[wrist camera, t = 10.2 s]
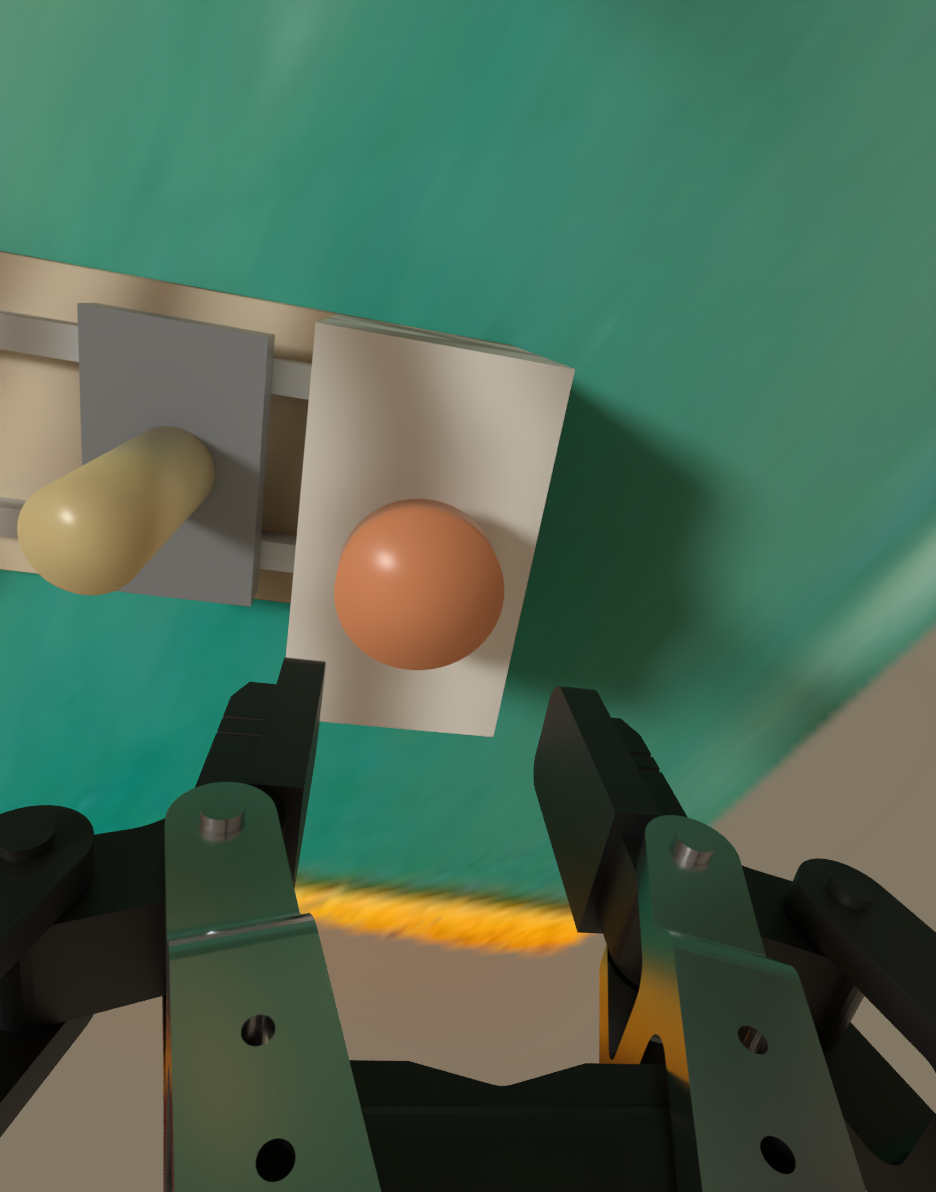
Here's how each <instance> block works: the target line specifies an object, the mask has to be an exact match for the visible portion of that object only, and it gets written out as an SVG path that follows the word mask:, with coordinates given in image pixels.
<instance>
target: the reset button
mask: <svg viewBox="0 0 936 1192" xmlns="http://www.w3.org/2000/svg"><path fill="white" fill-rule="evenodd" d="M334 599H335V607H336V611H337V615H338V618H339V620H340V623H341V625H342V627H343V629H344V630H345V632H346V634H347V635H348V636H349V638H350V639H351V640H352V642H353V643H354V644H355V645H356V646H357V647H358V648H359V649H360V650H362V651H363V652H364V653H366V654H367V655H368V656H370V657H372V658H373V659H375V660H377V661H379V662H381V663H383V664H386V665H388V666H392V667H395V668H400V669H406V670H430V669H436V668H441V667H444V666H447V665H450V664H453V663H455V662H457V661H459V660H461V659H463V658H465V657H466V656H468V655H469V654H471V653H472V652H473V651H475V650H476V649H477V648H478V647H479V646H480V645H481V644H482V643H483V642H484V641H485V640H486V639H487V638H488V636H489V635H490V634H491V632H492V631H493V629H494V627H495V626H496V624H497V622H498V619H499V617H500V614H501V611H502V607H503V602H504V580H503V574H502V571H501V567H500V564H499V562H498V560H497V557H496V555H495V552H494V550H493V548H492V545H491V543H490V541H489V539H488V537H487V536H486V534H485V532H484V531H483V530H482V528H481V527H480V526H479V525H478V524H477V523H476V522H475V521H474V520H473V519H472V518H471V517H470V516H469V515H467V514H466V513H464V512H463V511H461V510H460V509H458V508H456V507H454V506H452V505H449V504H446V503H443V502H440V501H435V500H431V499H407V500H401V501H397V502H393V503H390V504H387V505H385V506H383V507H381V508H379V509H377V510H375V511H374V512H372V513H370V514H369V515H368V516H366V517H365V518H364V519H363V520H362V521H361V522H360V523H359V524H358V525H357V526H356V527H355V528H354V529H353V531H352V532H351V534H350V535H349V536H348V538H347V540H346V542H345V544H344V546H343V549H342V552H341V555H340V559H339V564H338V570H337V575H336V580H335V587H334Z"/></svg>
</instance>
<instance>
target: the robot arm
mask: <svg viewBox="0 0 936 1192" xmlns="http://www.w3.org/2000/svg"><path fill="white" fill-rule="evenodd" d="M325 668H326V662H325V661H316V660H306V659H297V658H287V657H285V658H284V661H283V664H282V667H281V671H280V674H279V678H278V681H277V684H267V683H257V682H249V683H248V684H246V685H245V686H244V687H242V688H241V689H240V690H239V691H237V692H236V693H235V694H233V695H232V696H231V698H230V700H229V703H228V705H227V708H226V710H225V713H224V717H223V718H222V720H221V723H220V725H219V728H218V732H217V734H216V736H215V738H214V741H213V743H212V746H211V748H210V751H209V753H208V756H207V758H206V761H205V763H204V766H203V768H202V771H201V774H200V776H199V779H198V781H197V784H196V786H195V788H194V789H191V790H189V791H187V792H186V793H184V794H182V795H181V796H180V797H178V798H177V799H176V800H175V801H174V802H173V803H172V804H171V806H170V807H169V809H168V811H167V813H166V816H165V818H164V819H162V820H160V821H157V822H155V823H152V824H149V825H146V826H142V827H138V828H133V829H128V830H121V831H115V832H109V833H102V834H96V835H94V831H93V827H92V825H91V823H90V821H89V820H88V819H87V818H86V817H85V816H84V815H82V814H81V813H79V812H78V811H75V810H73V809H70V808H66V807H62V806H53V805H38V806H29V807H24V808H19V809H15V810H11V811H8V812H5V813H2V814H0V1137H1V1136H2V1134H3V1133H4V1132H5V1130H6V1129H7V1128H8V1127H9V1125H10V1124H11V1123H12V1122H13V1120H14V1119H15V1118H16V1116H17V1115H18V1114H19V1112H20V1111H21V1110H22V1108H23V1107H24V1106H25V1105H26V1103H27V1102H28V1101H29V1099H30V1098H31V1097H32V1096H33V1094H34V1093H35V1092H36V1090H37V1089H38V1088H39V1087H40V1085H41V1084H42V1083H43V1081H44V1080H45V1079H46V1078H47V1076H48V1075H49V1074H50V1072H51V1071H52V1070H53V1069H54V1067H55V1066H56V1065H57V1063H58V1062H59V1061H60V1059H61V1058H62V1057H63V1055H64V1054H65V1053H66V1052H67V1050H68V1049H69V1048H70V1046H71V1045H72V1044H73V1043H74V1041H75V1040H76V1039H77V1037H78V1036H79V1035H80V1034H81V1032H82V1031H83V1030H84V1028H85V1027H86V1026H87V1024H88V1023H89V1021H90V1020H91V1018H92V1017H93V1014H95V1013H99V1012H103V1011H107V1010H111V1009H114V1008H118V1007H122V1006H125V1005H129V1004H133V1003H137V1002H141V1001H145V1000H149V999H152V998H156V997H160V996H162V1024H163V1025H162V1027H163V1106H164V1107H163V1108H164V1109H163V1111H164V1112H163V1119H164V1120H163V1123H164V1124H163V1125H164V1127H163V1129H164V1130H163V1134H164V1135H163V1141H164V1142H163V1192H866V1191H867V1192H936V1114H935V1113H934V1112H933V1111H932V1110H931V1109H930V1107H929V1106H928V1105H927V1104H926V1103H925V1102H924V1101H923V1100H922V1099H921V1098H920V1097H919V1096H918V1094H917V1093H916V1092H915V1091H914V1090H913V1089H912V1088H911V1087H910V1086H909V1085H908V1084H907V1083H906V1082H905V1080H904V1079H903V1078H902V1077H901V1076H900V1075H899V1074H898V1073H897V1072H896V1071H895V1070H894V1069H893V1068H892V1066H891V1065H890V1064H889V1063H888V1062H887V1061H886V1060H885V1059H884V1058H883V1057H882V1056H881V1055H880V1053H879V1052H878V1051H877V1050H876V1049H875V1048H874V1047H873V1046H872V1045H871V1044H870V1043H869V1042H868V1041H867V1039H866V1038H865V1037H864V1036H863V1035H862V1034H861V1033H860V1032H859V1031H858V1030H857V1029H856V1028H855V1027H854V1025H853V1024H852V1023H851V1022H850V1021H851V1020H852V1018H853V1016H854V1014H855V1012H856V1010H857V1009H858V1007H859V1005H860V1003H861V1001H862V999H863V998H864V996H865V997H866V998H868V1000H869V1001H870V1002H871V1003H872V1004H873V1005H874V1006H875V1007H876V1008H877V1009H878V1010H879V1011H880V1012H881V1013H882V1014H883V1015H884V1016H885V1017H886V1018H887V1019H888V1020H889V1021H890V1022H891V1023H892V1024H893V1025H894V1026H895V1027H896V1028H897V1029H898V1030H899V1031H900V1032H901V1033H902V1034H903V1036H905V1038H906V1039H907V1040H908V1041H909V1042H911V1044H912V1045H913V1046H914V1047H915V1048H916V1049H917V1050H918V1051H919V1052H920V1053H921V1054H922V1055H923V1056H924V1057H925V1058H926V1059H927V1060H928V1062H929V1063H930V1064H931V1066H932V1067H933V1069H934V1070H935V1072H936V932H935V931H933V930H932V929H931V928H930V927H929V926H928V925H926V924H925V923H924V922H923V921H922V920H920V919H919V918H918V917H917V916H916V915H915V914H913V913H912V912H911V911H910V910H909V909H908V908H906V907H905V906H904V905H903V904H902V903H901V902H899V901H898V900H897V899H896V898H895V897H893V896H892V895H891V894H890V893H889V892H888V891H886V890H885V889H884V888H883V887H882V886H881V885H879V884H878V883H877V882H875V881H874V880H873V879H871V878H870V877H868V876H867V875H865V874H864V873H862V872H860V871H858V870H856V869H854V868H852V867H850V866H848V865H845V864H842V863H840V862H836V861H833V860H828V859H810V860H807V861H805V862H803V863H802V864H801V865H800V867H799V868H798V870H797V873H796V875H795V877H794V880H793V881H789V880H786V879H783V878H779V877H776V876H773V875H769V874H766V873H763V872H760V871H756V870H753V869H750V868H747V867H744V866H742V865H741V861H740V859H739V856H738V853H737V852H736V850H735V849H734V847H733V846H732V845H731V844H730V842H729V841H728V840H727V839H726V838H725V837H724V836H722V835H721V834H719V832H717V831H716V830H714V829H713V828H711V827H709V826H707V825H706V824H704V823H702V822H699V821H697V820H694V819H691V818H688V817H687V816H686V814H685V812H684V810H683V809H682V807H681V805H680V803H679V802H678V800H677V798H676V796H675V795H674V793H673V791H672V789H671V788H670V786H669V784H668V783H667V781H666V779H665V777H664V776H663V774H662V773H661V772H659V767H658V765H657V763H656V762H655V760H654V758H653V757H651V753H650V751H649V750H648V748H647V746H646V744H645V743H644V741H643V739H642V737H641V736H640V735H639V734H638V733H637V732H636V731H635V730H633V729H632V728H631V727H630V726H629V725H628V724H626V723H625V722H624V721H623V720H622V719H619V718H611V717H610V715H609V713H608V711H607V709H606V707H605V706H604V704H603V702H602V700H601V698H600V696H599V694H598V693H597V691H595V690H589V689H580V688H570V687H561V686H557V687H555V688H554V690H553V691H552V694H551V696H550V700H549V704H548V708H547V712H546V716H545V720H544V724H543V728H542V732H541V735H540V739H539V743H538V747H537V751H536V756H535V761H534V786H535V791H536V794H537V798H538V801H539V804H540V808H541V811H542V814H543V818H544V821H545V824H546V828H547V831H548V835H549V838H550V841H551V845H552V848H553V851H554V855H555V858H556V861H557V865H558V868H559V871H560V875H561V878H562V881H563V885H564V888H565V891H566V895H567V898H568V901H569V905H570V908H571V912H572V915H573V918H574V922H575V925H576V928H577V932H581V933H603V934H604V938H605V941H606V943H607V945H606V948H605V951H604V953H603V956H602V960H601V962H600V969H599V1064H596V1063H591V1064H590V1063H585V1064H582V1065H578V1066H575V1067H571V1068H568V1069H564V1070H561V1071H558V1072H554V1073H551V1074H547V1075H544V1076H540V1077H537V1078H534V1079H530V1080H526V1081H523V1082H520V1083H516V1084H513V1085H508V1086H497V1085H492V1084H489V1083H485V1082H481V1081H477V1080H474V1079H471V1078H467V1077H464V1076H460V1075H456V1074H453V1073H449V1072H446V1071H442V1070H439V1069H435V1068H431V1067H428V1066H424V1065H421V1064H417V1063H414V1062H410V1061H360V1060H359V1061H356V1060H349V1057H348V1053H347V1049H346V1045H345V1040H344V1036H343V1032H342V1029H341V1024H340V1020H339V1016H338V1012H337V1008H336V1003H335V999H334V996H333V991H332V987H331V983H330V979H329V975H328V970H327V966H326V963H325V958H324V954H323V950H322V946H321V942H320V938H319V933H318V930H317V926H316V923H315V920H314V918H313V916H312V915H311V914H310V913H307V914H301V915H300V912H299V908H298V903H297V899H296V894H295V890H294V889H295V882H296V876H297V870H298V864H299V857H300V851H301V845H302V838H303V832H304V826H305V819H306V813H307V807H308V801H309V794H310V788H311V782H312V775H313V769H314V762H315V755H316V747H317V739H318V730H319V721H320V712H321V704H322V695H323V686H324V677H325Z"/></svg>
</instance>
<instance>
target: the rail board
mask: <svg viewBox="0 0 936 1192" xmlns="http://www.w3.org/2000/svg"><path fill="white" fill-rule="evenodd" d="M77 303H100V304H106V305H111V306H117V307H123V308H128V309H134V310H140V311H145V312H151V313H156V314H162V315H168V316H173V317H179V318H185V319H190V320H196V321H202V322H207V323H213V324H219V325H224V326H230V327H236V328H241V329H247V330H252V331H258V332H264V333H269V334H275V343H274V357H273V372H272V386H271V401H270V416H269V430H268V445H267V459H266V474H265V488H264V503H263V518H262V532H261V547H260V561H259V576H258V590H257V593H256V595H255V597H254V599H261V600H270V601H278V602H287V603H291V607H290V618H289V629H288V640H287V652H286V657H287V658H297V659H306V660H316V661H325V662H326V668H325V677H324V686H323V695H322V704H321V712H320V721H322V722H333V723H344V724H355V725H366V726H378V727H389V728H400V729H411V730H422V731H433V732H444V733H455V734H466V735H478V736H489V737H493V735H494V731H495V726H496V722H497V717H498V713H499V708H500V704H501V699H502V695H503V690H504V686H505V681H506V677H507V672H508V668H509V663H510V659H511V654H512V650H513V645H514V641H515V636H516V632H517V627H518V623H519V618H520V614H521V610H522V605H523V601H524V596H525V592H526V587H527V583H528V578H529V574H530V569H531V565H532V560H533V556H534V551H535V547H536V542H537V538H538V533H539V529H540V524H541V520H542V515H543V511H544V506H545V502H546V497H547V493H548V488H549V484H550V479H551V475H552V470H553V466H554V461H555V457H556V453H557V448H558V444H559V439H560V435H561V430H562V426H563V421H564V417H565V412H566V408H567V403H568V399H569V394H570V390H571V385H572V381H573V376H574V372H575V369H573V368H570V367H568V366H565V365H563V364H560V363H557V362H555V361H552V360H549V359H547V358H544V357H541V356H539V355H536V354H534V353H531V352H528V351H526V350H523V349H520V348H518V347H515V346H513V345H507V344H502V343H496V342H491V341H485V340H480V339H475V338H469V337H464V336H458V335H453V334H448V333H442V332H437V331H431V330H426V329H420V328H415V327H410V326H404V325H399V324H393V323H388V322H383V321H377V320H372V319H366V318H361V317H355V316H350V315H345V314H339V313H334V312H328V311H323V310H318V309H312V308H307V307H301V306H296V305H290V304H285V303H280V302H274V301H269V300H263V299H258V298H253V297H247V296H242V295H236V294H231V293H225V292H220V291H215V290H209V289H204V288H198V287H193V286H188V285H182V284H177V283H171V282H166V281H160V280H155V279H150V278H144V277H139V276H133V275H128V274H123V273H117V272H112V271H106V270H101V269H95V268H90V267H85V266H79V265H74V264H68V263H63V262H58V261H52V260H47V259H41V258H36V257H30V256H25V255H20V254H14V253H9V252H3V251H0V569H3V570H12V571H21V572H29V573H37V572H36V571H35V570H34V569H33V568H32V566H31V565H30V564H29V562H28V561H27V559H26V558H25V556H24V554H23V552H22V550H21V547H20V544H19V540H18V534H17V523H18V517H19V514H20V511H21V509H22V507H23V505H24V504H25V502H26V501H27V500H28V498H29V497H31V496H32V495H33V494H34V493H35V492H37V491H38V490H39V489H41V488H43V487H45V486H47V485H48V484H50V483H52V482H54V481H56V480H58V479H59V478H61V477H63V476H65V475H67V474H68V473H70V472H72V471H74V470H76V469H78V468H79V467H81V466H82V447H81V414H80V380H79V347H78V314H77ZM407 499H431V500H435V501H440V502H443V503H446V504H449V505H452V506H454V507H456V508H458V509H460V510H461V511H463V512H464V513H466V514H467V515H469V516H470V517H471V518H472V519H473V520H474V521H475V522H476V523H477V524H478V525H479V526H480V527H481V528H482V530H483V531H484V532H485V534H486V536H487V537H488V539H489V541H490V543H491V545H492V548H493V550H494V552H495V555H496V557H497V560H498V562H499V564H500V567H501V571H502V574H503V580H504V602H503V607H502V611H501V614H500V617H499V619H498V622H497V624H496V626H495V627H494V629H493V631H492V632H491V634H490V635H489V636H488V638H487V639H486V640H485V641H484V642H483V643H482V644H481V645H480V646H479V647H478V648H477V649H476V650H475V651H473V652H472V653H471V654H469V655H468V656H466V657H465V658H463V659H461V660H459V661H457V662H455V663H453V664H450V665H447V666H444V667H441V668H436V669H430V670H406V669H400V668H395V667H392V666H388V665H386V664H383V663H381V662H379V661H377V660H375V659H373V658H372V657H370V656H368V655H367V654H366V653H364V652H363V651H362V650H360V649H359V648H358V647H357V646H356V645H355V644H354V643H353V642H352V640H351V639H350V638H349V636H348V635H347V634H346V632H345V630H344V629H343V627H342V625H341V623H340V620H339V618H338V615H337V611H336V607H335V599H334V587H335V580H336V575H337V570H338V564H339V559H340V555H341V552H342V549H343V546H344V544H345V542H346V540H347V538H348V536H349V535H350V534H351V532H352V531H353V529H354V528H355V527H356V526H357V525H358V524H359V523H360V522H361V521H362V520H363V519H364V518H365V517H366V516H368V515H369V514H370V513H372V512H374V511H375V510H377V509H379V508H381V507H383V506H385V505H387V504H390V503H393V502H397V501H401V500H407Z"/></svg>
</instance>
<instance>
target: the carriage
mask: <svg viewBox="0 0 936 1192" xmlns="http://www.w3.org/2000/svg"><path fill="white" fill-rule="evenodd" d="M77 314H78V347H79V380H80V414H81V447H82V466H81V467H79V468H78V469H76V470H74V471H72V472H70V473H68V474H67V475H65V476H63V477H61V478H59V479H58V480H56V481H54V482H52V483H50V484H48V485H47V486H45V487H43V488H41V489H39V490H38V491H37V492H35V493H34V494H33V495H32V496H31V497H29V498H28V500H27V501H26V502H25V504H24V505H23V507H22V509H21V511H20V514H19V517H18V523H17V534H18V540H19V544H20V547H21V550H22V552H23V554H24V556H25V558H26V559H27V561H28V562H29V564H30V565H31V566H32V568H33V569H34V570H35V571H36V572H37V573H38V574H39V575H40V576H42V577H43V578H44V579H45V580H47V581H48V582H50V583H51V584H53V585H55V586H57V587H59V588H61V589H63V590H66V591H69V592H72V593H76V594H82V595H101V594H107V593H110V592H113V591H119V592H128V593H137V594H146V595H154V596H163V597H172V598H180V599H189V600H198V601H207V602H215V603H224V604H233V605H242V606H251V604H252V602H253V600H254V597H255V595H256V593H257V590H258V576H259V561H260V547H261V532H262V518H263V503H264V488H265V474H266V459H267V445H268V430H269V416H270V401H271V386H272V372H273V357H274V343H275V334H269V333H264V332H258V331H252V330H247V329H241V328H236V327H230V326H224V325H219V324H213V323H207V322H202V321H196V320H190V319H185V318H179V317H173V316H168V315H162V314H156V313H151V312H145V311H140V310H134V309H128V308H123V307H117V306H111V305H106V304H100V303H77Z"/></svg>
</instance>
